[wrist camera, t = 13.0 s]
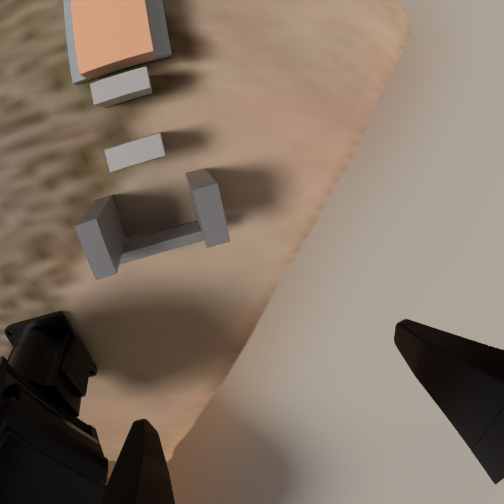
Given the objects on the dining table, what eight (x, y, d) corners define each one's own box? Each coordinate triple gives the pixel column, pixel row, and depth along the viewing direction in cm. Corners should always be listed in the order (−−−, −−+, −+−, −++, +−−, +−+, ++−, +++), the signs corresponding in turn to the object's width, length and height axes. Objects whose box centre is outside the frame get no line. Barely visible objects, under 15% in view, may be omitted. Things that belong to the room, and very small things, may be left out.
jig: (113, 253, 19) (102, 292, 14) (70, 101, 14) (39, 95, 10) (217, 224, 20) (233, 255, 16) (183, 67, 15) (190, 47, 11)
